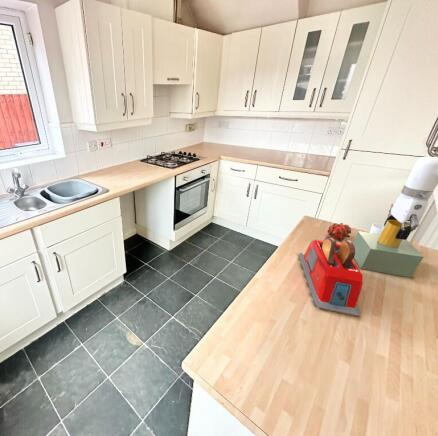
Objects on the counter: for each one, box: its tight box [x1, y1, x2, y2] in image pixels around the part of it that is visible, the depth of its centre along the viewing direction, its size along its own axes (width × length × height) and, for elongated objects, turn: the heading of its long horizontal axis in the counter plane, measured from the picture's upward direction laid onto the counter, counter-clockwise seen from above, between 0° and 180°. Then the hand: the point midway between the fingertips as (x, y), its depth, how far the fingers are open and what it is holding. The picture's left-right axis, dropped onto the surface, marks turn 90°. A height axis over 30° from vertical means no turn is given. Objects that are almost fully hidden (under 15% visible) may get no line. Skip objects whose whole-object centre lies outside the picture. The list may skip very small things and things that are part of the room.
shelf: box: [352, 230, 425, 278], centre depth 100 cm, size 16×14×10 cm
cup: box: [378, 220, 409, 247], centre depth 96 cm, size 6×6×9 cm
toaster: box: [299, 237, 364, 318], centre depth 89 cm, size 32×13×19 cm, turn 161°
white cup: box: [368, 222, 385, 234], centre depth 111 cm, size 8×8×10 cm
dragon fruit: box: [327, 222, 352, 241], centre depth 118 cm, size 8×8×12 cm
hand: (394, 232), depth 95 cm, fingers open, 9 cm apart
